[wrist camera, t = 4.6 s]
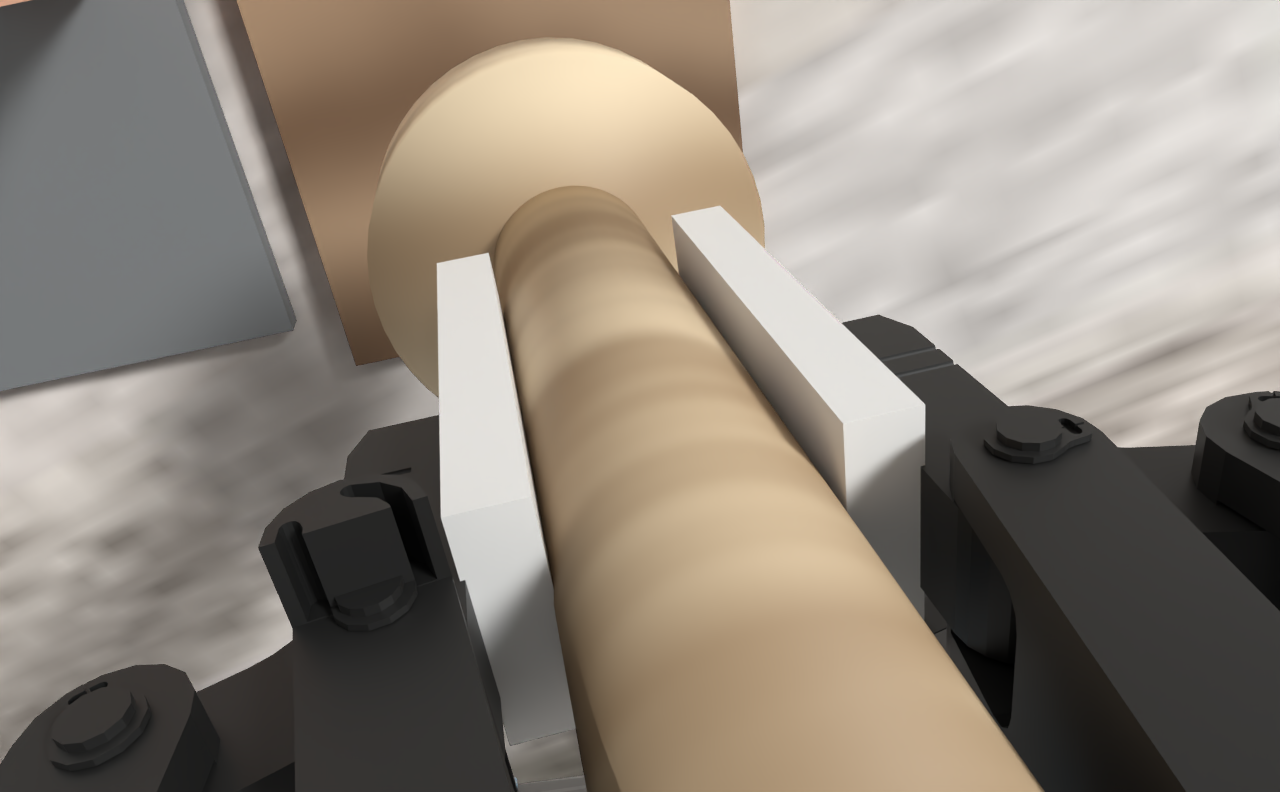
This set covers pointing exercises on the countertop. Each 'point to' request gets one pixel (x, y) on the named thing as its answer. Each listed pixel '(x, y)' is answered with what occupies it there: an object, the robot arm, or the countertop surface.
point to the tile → (10, 2)
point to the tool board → (407, 66)
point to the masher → (663, 447)
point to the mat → (120, 195)
